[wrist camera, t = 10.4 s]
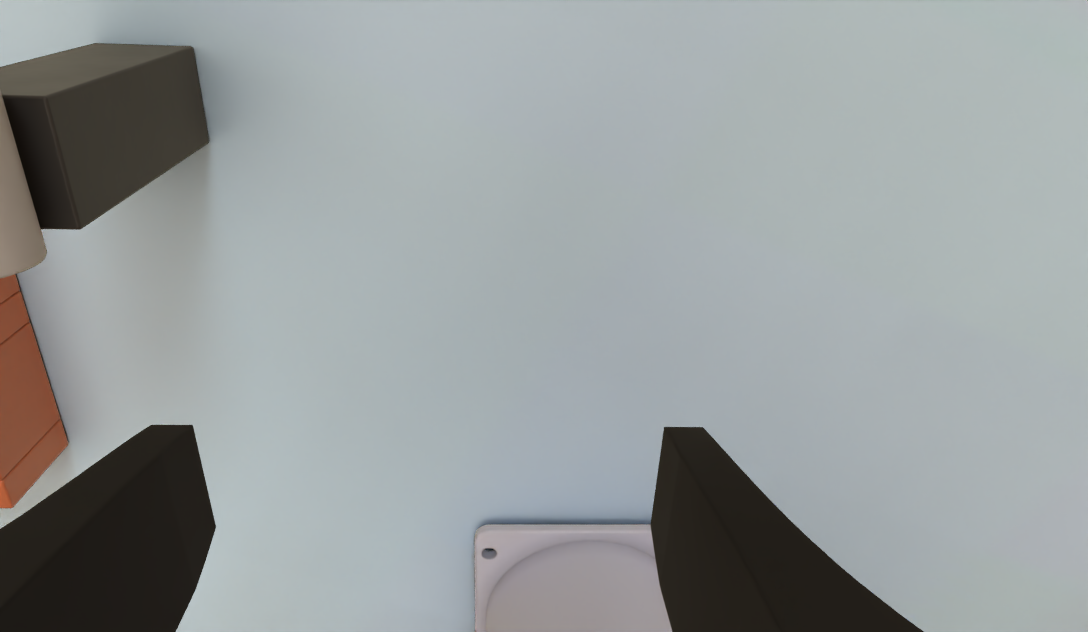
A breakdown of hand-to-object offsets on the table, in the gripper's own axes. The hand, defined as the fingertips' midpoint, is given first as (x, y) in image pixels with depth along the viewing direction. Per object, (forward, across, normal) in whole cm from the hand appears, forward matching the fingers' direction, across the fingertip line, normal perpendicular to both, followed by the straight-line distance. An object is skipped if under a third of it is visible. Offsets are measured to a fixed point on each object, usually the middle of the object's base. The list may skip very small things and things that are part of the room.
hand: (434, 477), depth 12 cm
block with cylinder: (+10, +8, -4) cm, 14 cm away
